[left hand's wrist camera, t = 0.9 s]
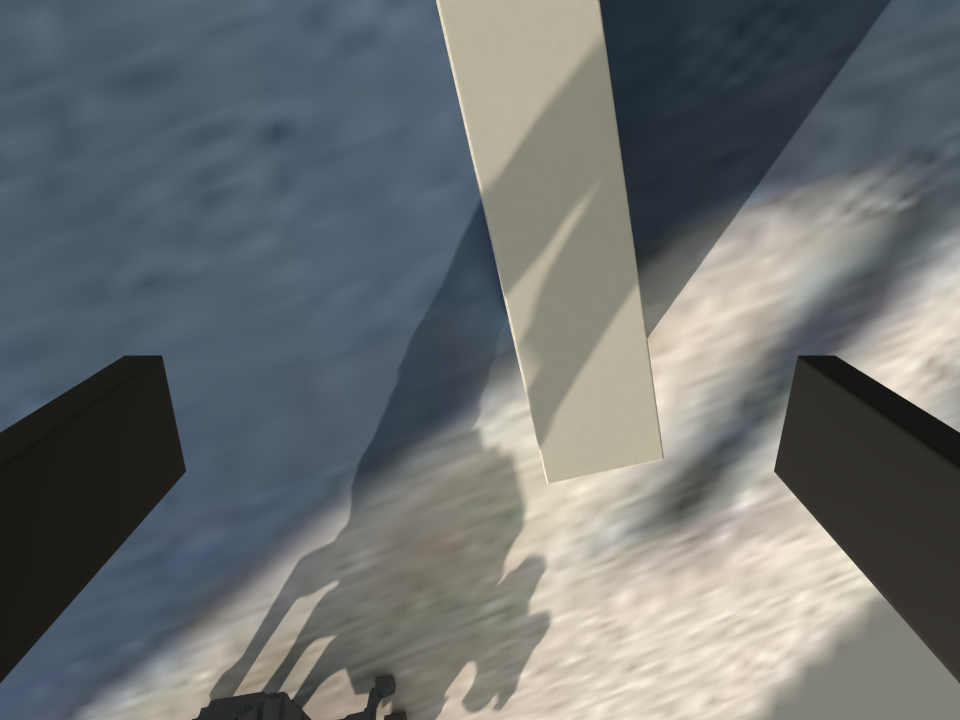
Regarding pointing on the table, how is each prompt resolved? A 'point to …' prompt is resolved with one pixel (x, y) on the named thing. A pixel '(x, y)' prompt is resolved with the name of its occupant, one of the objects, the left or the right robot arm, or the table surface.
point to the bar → (558, 224)
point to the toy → (289, 706)
